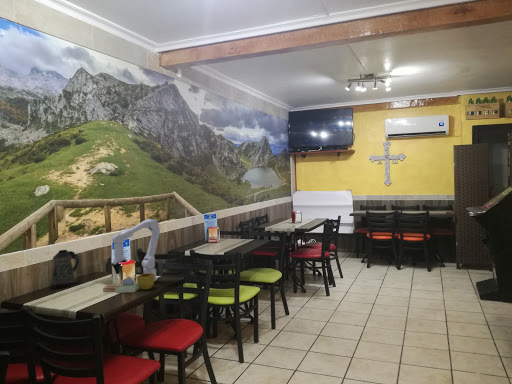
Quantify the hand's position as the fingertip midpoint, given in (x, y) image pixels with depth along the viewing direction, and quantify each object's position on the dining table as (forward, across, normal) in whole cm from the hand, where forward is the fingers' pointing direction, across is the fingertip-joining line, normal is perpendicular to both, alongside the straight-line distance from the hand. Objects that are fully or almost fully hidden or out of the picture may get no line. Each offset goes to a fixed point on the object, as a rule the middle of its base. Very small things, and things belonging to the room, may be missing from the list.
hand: (120, 272), depth 265 cm
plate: (+10, +6, +8) cm, 13 cm away
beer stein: (+11, -11, -48) cm, 50 cm away
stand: (+10, +6, -4) cm, 12 cm away
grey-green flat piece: (+10, +6, +8) cm, 14 cm away
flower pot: (+11, +3, +19) cm, 22 cm away
